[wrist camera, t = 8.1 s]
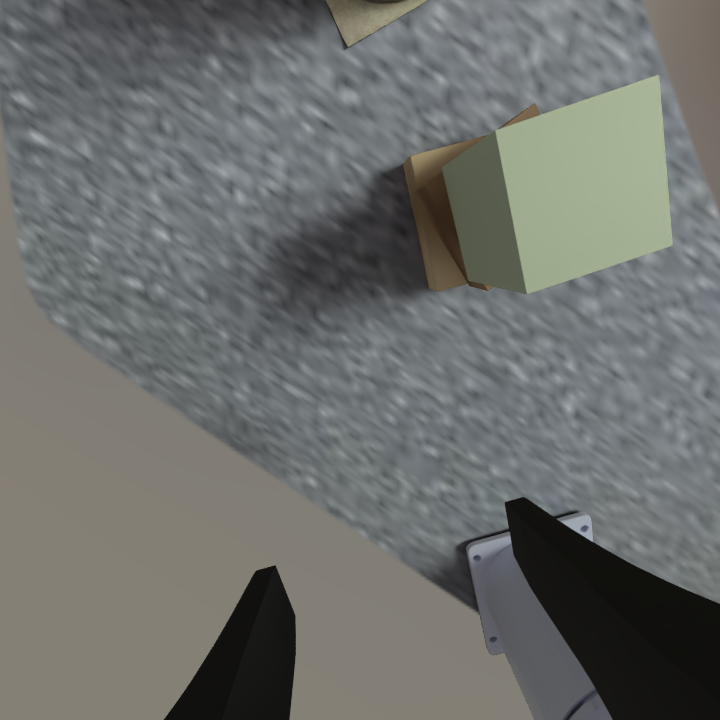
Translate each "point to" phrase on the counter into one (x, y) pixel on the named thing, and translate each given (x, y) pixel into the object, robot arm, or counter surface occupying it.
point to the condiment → (367, 15)
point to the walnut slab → (439, 208)
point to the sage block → (564, 192)
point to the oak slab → (434, 252)
